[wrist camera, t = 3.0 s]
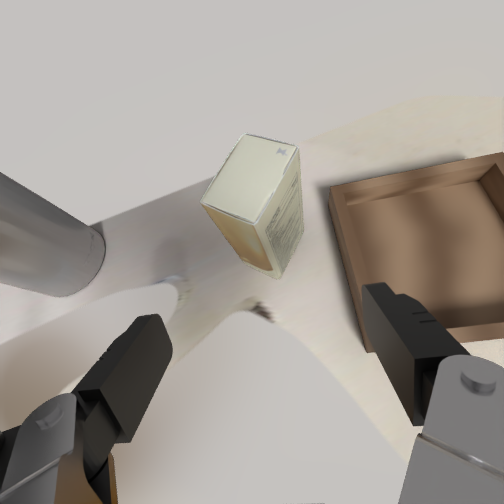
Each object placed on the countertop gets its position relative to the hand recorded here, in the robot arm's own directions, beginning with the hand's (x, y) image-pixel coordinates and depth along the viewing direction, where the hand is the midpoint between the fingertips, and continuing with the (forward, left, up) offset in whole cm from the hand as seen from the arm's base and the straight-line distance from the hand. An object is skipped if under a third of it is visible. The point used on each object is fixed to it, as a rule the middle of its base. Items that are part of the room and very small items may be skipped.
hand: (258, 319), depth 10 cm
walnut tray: (+14, +6, -14) cm, 21 cm away
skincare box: (0, +9, -15) cm, 17 cm away
